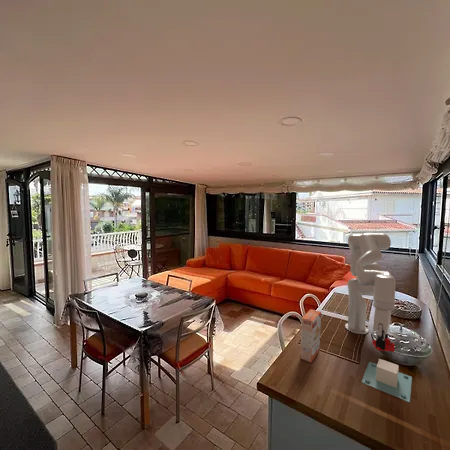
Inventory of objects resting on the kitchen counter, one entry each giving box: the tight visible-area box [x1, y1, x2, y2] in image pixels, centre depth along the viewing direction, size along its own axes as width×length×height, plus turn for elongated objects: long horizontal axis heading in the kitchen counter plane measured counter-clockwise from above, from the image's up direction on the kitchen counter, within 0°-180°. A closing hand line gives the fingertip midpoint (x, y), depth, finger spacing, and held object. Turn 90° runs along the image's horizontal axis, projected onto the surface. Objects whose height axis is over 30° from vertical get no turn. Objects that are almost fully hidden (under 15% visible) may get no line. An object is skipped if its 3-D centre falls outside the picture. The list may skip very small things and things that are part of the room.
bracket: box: [372, 337, 396, 352], centre depth 100 cm, size 6×5×3 cm
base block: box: [376, 358, 400, 388], centre depth 100 cm, size 7×7×6 cm
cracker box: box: [299, 309, 322, 363], centre depth 119 cm, size 14×6×21 cm, turn 142°
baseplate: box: [361, 361, 413, 403], centre depth 100 cm, size 18×16×2 cm
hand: (381, 344), depth 101 cm, fingers closed on bracket, 5 cm apart
